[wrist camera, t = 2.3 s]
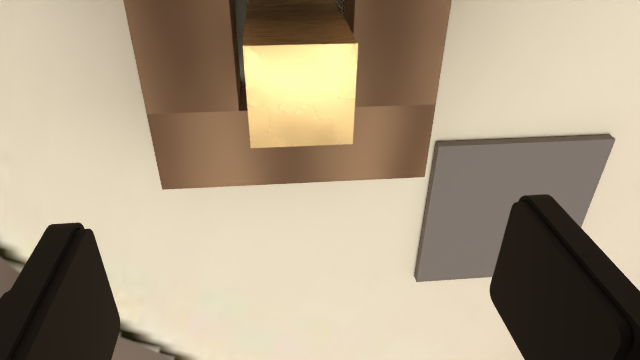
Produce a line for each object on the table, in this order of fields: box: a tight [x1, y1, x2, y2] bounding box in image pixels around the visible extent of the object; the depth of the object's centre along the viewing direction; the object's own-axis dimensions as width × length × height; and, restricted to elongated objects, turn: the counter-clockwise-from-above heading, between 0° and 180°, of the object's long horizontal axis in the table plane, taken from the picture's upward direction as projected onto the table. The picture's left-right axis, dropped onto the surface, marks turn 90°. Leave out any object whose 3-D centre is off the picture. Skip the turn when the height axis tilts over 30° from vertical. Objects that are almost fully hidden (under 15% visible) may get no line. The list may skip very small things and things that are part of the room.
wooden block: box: [243, 0, 358, 148], centre depth 21 cm, size 4×4×8 cm
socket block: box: [124, 0, 451, 189], centre depth 23 cm, size 14×14×3 cm
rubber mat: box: [414, 134, 615, 282], centre depth 32 cm, size 11×11×1 cm
